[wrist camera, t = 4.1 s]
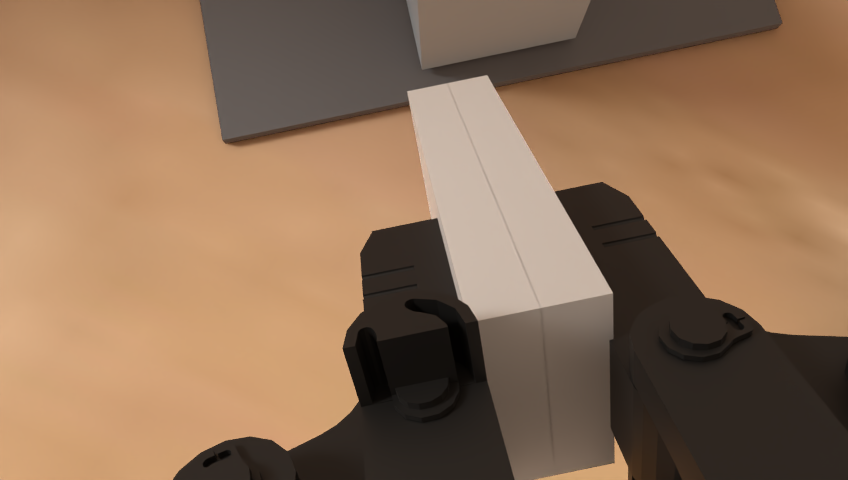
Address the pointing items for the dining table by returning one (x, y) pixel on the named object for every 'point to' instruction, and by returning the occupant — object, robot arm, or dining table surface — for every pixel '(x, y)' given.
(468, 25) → the block
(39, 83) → the dining table surface
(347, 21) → the mat
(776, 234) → the dining table surface
